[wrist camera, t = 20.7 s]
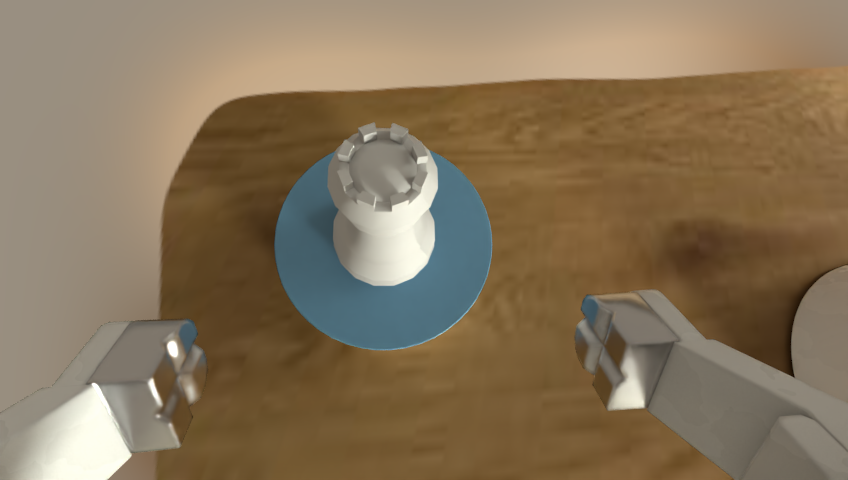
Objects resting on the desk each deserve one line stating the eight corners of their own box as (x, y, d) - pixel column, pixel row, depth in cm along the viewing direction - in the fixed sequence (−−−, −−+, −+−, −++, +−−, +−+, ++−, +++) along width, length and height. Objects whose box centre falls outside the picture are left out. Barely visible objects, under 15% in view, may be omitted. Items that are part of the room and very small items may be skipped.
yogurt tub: (493, 265, 28) (534, 231, 20) (391, 387, 26) (394, 400, 18) (380, 169, 29) (378, 102, 21) (272, 277, 27) (226, 246, 19)
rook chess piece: (452, 226, 20) (493, 145, 12) (398, 308, 19) (406, 275, 11) (371, 175, 20) (362, 64, 13) (313, 252, 19) (264, 182, 11)
